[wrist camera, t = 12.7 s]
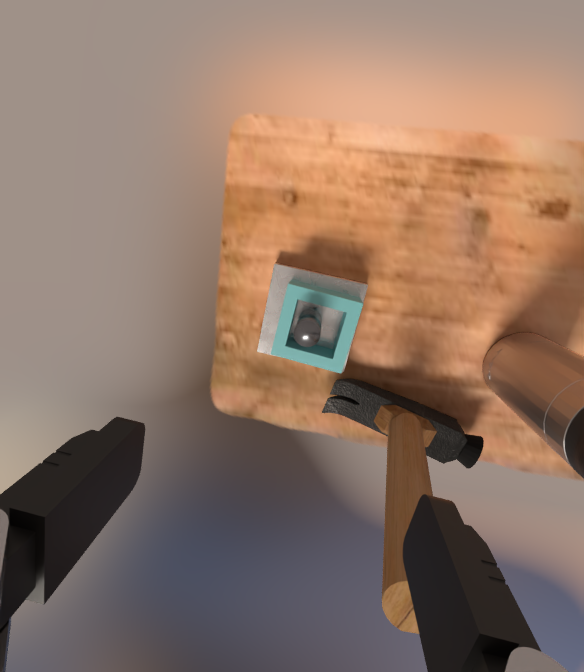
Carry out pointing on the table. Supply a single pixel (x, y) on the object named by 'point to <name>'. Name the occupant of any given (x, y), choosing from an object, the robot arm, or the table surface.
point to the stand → (306, 309)
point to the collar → (316, 353)
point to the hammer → (403, 471)
